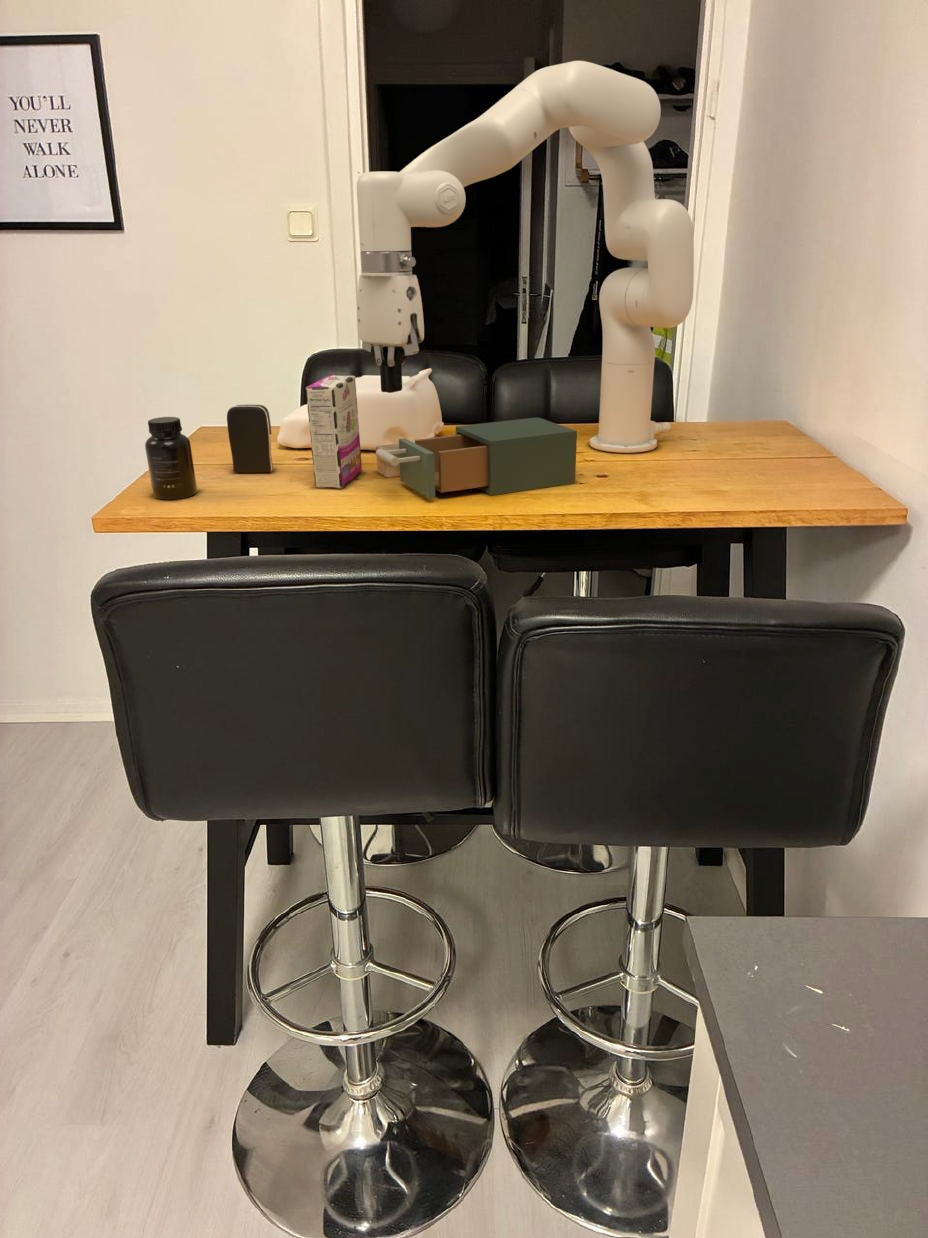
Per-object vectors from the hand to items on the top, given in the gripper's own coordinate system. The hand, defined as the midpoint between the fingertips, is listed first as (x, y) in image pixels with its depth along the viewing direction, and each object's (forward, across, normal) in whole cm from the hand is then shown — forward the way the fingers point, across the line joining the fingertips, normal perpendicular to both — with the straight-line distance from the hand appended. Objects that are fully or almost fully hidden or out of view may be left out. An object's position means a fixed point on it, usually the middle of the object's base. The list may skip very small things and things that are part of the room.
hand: (391, 390), depth 140 cm
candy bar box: (+16, +11, +2) cm, 19 cm away
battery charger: (+16, +27, +6) cm, 32 cm away
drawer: (+15, -7, -3) cm, 16 cm away
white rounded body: (+16, +28, -21) cm, 38 cm away
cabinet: (+15, -13, -15) cm, 25 cm away
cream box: (+15, +6, -7) cm, 18 cm away
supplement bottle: (+16, +26, +24) cm, 39 cm away
